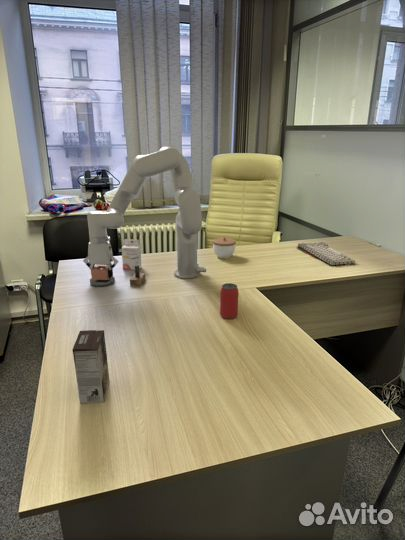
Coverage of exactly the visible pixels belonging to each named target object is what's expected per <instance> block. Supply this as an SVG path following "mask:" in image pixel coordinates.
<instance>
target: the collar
mask: <svg viewBox="0 0 405 540" xmlns="http://www.w3.org/2000/svg"><path fill="white" fill-rule="evenodd" d="M100 268H104V269H100ZM108 270H109V269H108V267H107V266H106V265H96V264H95V266H94V268H92V269H90V275H91V278H92V279H96V280H107V279H108V278H109V277H108Z"/></svg>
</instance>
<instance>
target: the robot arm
mask: <svg viewBox="0 0 405 540" xmlns="http://www.w3.org/2000/svg"><path fill="white" fill-rule="evenodd" d="M169 171H170V173H171V178H172V184H173V186H172V187H173V195H174V196H173V197H174V201H175V203H176V204H177V205H178V207H179V210H178V212H177V214H176V215H175V230H176V249H177V250H176V253H177V254H176V256H177V257H176V258H177V261H176V262H177V263H176V264H177V265H176V266H177V269H176V270H174V276H175V277H177V278H179V279H185V280H186V279H187V280H188V279H195V278H198V277H199V276H201V273H207V268H206V267H204V266H199V265H200V264H199V263H198V233H199V232H200V230H201V229H202V226H203V215H202V213H203V212H202V205H201V199H200V195H199V192H198V191H196V189H194V184H193V178H192V172H191V171H192V170H191V168H190V164H189V162H188V160H187V159H186V157H185V156H184V155H183V154H182V153H181V152H180V151H179V150H178V149H177V148H175V147H172V146H167V145H166V146H162V147H161V148H160V149H159V150H158V151H155V152H151V153H149V154H139V155H136V156H135V158H133V160H132V161H131V164H130V166H129V168H128V170H127V172H126V174H125V175H124V178H123V180H122V181H121V183H120V185H119V187H118V189H117V191H116V192H115V194H114V196H113V198H112V200H111V202H110V204H109V206H108V207H107V210H106V212H104V211H102V210H91V211H89V212H88V213H87V214H86V215H87V216H86V217H87V218H86V219H87V226H88V235H89V236H88V237H89V242H88V248H87V256H86V257H85V258H84V259H82V261H83V262H84V264H85V265H86V266H87V267H88V269H89V270H91V269H92V268H94V267H95V266H96V265H106V266H107V267H108V269H109V270H108V277H109V279H110V278H111V277H112V276H113V277H114V272H113V271H114V270H113V269H114V268H115V267H116V266H117V264H118V263H119V260H118V259H117V258H116V257H114V253H113V248H112V244H111V242H110V241H111V237H110V236H109V235H108V231H107V229H113V230H115V229H120V228H121V227H123V225H124V223H125V218H124V215H125V213H126V211H127V210H128V207H129V206H130V204H131V203H132V201H133V200H135V199H137V197H138V196H139V194H140V193H141V191H142V189H143V187H144V185H145V182H146V181H147V179H148V178H150V177H154V176H157V175H160V174H163V173H165V172H169ZM112 262H113V264H112Z"/></svg>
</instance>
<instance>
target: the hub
mask: <svg viewBox="0 0 405 540" xmlns="http://www.w3.org/2000/svg"><path fill="white" fill-rule="evenodd" d="M100 269H104V268H100ZM115 282H116V279H115V276H114V275H113V276H112V277H111V278H110V279H109V278H108V279H107V280H96V279H92V277H91V278H90V279H89V284H90V285H91V287H95V288H105V287H109V286H112V285H115Z"/></svg>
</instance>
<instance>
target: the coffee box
mask: <svg viewBox="0 0 405 540" xmlns="http://www.w3.org/2000/svg"><path fill="white" fill-rule="evenodd" d="M72 355H73V356H72V357H73V362H74V369H75V376H76V384H77V391H78V399H79V404H94V403H95V404H98V403H104V402H105V401H106V396H107V392H108V389H109V388H108V387H109V383H110V374H109V364H108V353H107V345H106V337H105V330H104V329H101V330H97V329H93V330H91V329H88V330H79V333H78V334H77V337H76V340H75V343H74V345H73V348H72Z"/></svg>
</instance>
